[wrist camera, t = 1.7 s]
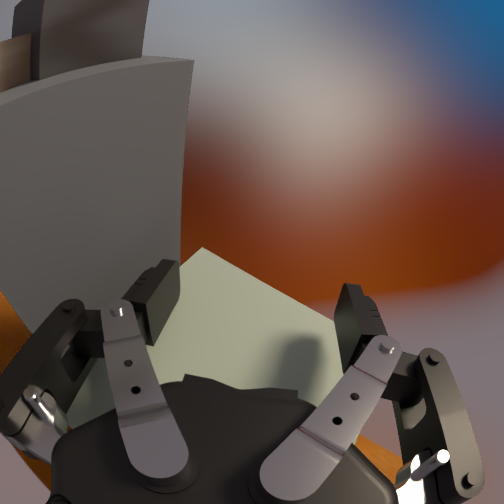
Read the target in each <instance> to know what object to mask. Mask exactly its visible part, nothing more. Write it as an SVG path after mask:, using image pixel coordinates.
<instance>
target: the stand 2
mask: <svg viewBox="0 0 504 504" xmlns="http://www.w3.org/2000/svg"><path fill="white" fill-rule="evenodd" d="M179 269H180V297H179V300H178V302H177V304H176V306H175V307H174V309H173V311H172V313H171V315H170V317H169V319H168V320H167V322H166V324H165V326H164V328H163V330H162V332H161V334H160V335H159V337H158V339H157V341H156V343H155V345H154V347H153V346H149V345H146V348H147V351H148V354H149V357H150V360H151V363H152V366H153V368H154V371H155V374H156V377H157V379H158V382H159V385H160V384H163V383H167V382H174V381H182V380H183V377H184V375H185V374H190V375H195V376H200V377H205V378H210V379H214V380H216V381H219V382H221V383H224V384H226V385H229V386H231V387H234V388H237V389H257V388H269V387H271V388H280V389H291V390H298V398H299V399H302V400H305V401H307V402H309V403H311V404H313V405H315V406H316V407H318V406H319V405H320V404H321V402H322V401H323V400H324V399H325V398H326V396H327V395H328V394H329V393H330V392H331V390H332V389H333V388H334V387H335V385H336V384H337V383H338V382H339V380H340V379H341V378H342V376H343V375H344V374H343V371H342V365H341V358H340V352H339V347H338V341H337V335H336V330H335V324H334V321H332V320H330V319H328V318H326V317H325V316H323V315H321V314H319V313H317V312H315V311H314V310H311V309H310V308H308V307H306V306H305V305H303V304H301V303H299V302H297V301H296V300H294V299H292V298H290V297H288V296H287V295H285V294H283V293H281V292H279V291H277V290H276V289H274V288H272V287H271V286H269V285H267V284H265V283H263V282H262V281H260V280H258V279H256V278H255V277H253V276H251V275H249V274H248V273H246V272H244V271H242V270H241V269H239V268H237V267H235V266H234V265H232V264H230V263H228V262H227V261H225V260H223V259H222V258H220V257H218V256H216V255H215V254H213V253H211V252H209V251H208V250H206V249H204V248H201V249H200V250H199V251H198V252H196V253H195V254H194V255H193V256H192V257H191V258H190V259H188V260H187V261H186V262H185V263H184V264H183V265H182V266H180V267H179ZM114 408H116V407H115V403H114V399H113V395H112V391H111V386H110V381H109V376H108V371H107V366H106V361H105V358H98V359H97V361H96V363H95V364H94V366H93V368H92V369H91V371H90V373H89V374H88V376H87V378H86V380H85V381H84V383H83V385H82V387H81V388H80V390H79V392H78V394H77V395H76V397H75V399H74V401H73V403H72V404H71V406H70V408H69V410H68V412H67V414H66V416H67V419H68V425H69V426H70V427H71V428H72V429H73V428H76V427H78V426H80V425H82V424H84V423H86V422H88V421H90V420H92V419H94V418H96V417H98V416H100V415H102V414H104V413H106V412H108V411H110V410H112V409H114ZM359 432H360V431H359ZM358 435H359V433H358V434H357V436H356V437H355V439H354V440H353V442H352V443H353V444H354V445H355V442H356V440H357V437H358Z"/></svg>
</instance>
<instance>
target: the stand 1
mask: <svg viewBox="0 0 504 504" xmlns="http://www.w3.org/2000/svg"><path fill="white" fill-rule="evenodd" d="M193 64H194V60H189V59H180V58H170V57H157V56H142V57H141V58H136V59H129V60H122V61H116V62H110V63H105V64H99V65H95V66H90V67H86V68H81V69H77V70H73V71H69V72H66V73H62V74H59V75H55V76H52V77H49V78H45V79H42V80H30V81H27V82H24V83H21V84H19V85H16V86H14V87H11V88H9V89H6V90H4V91H1V92H0V290H1V291H2V293H3V294H4V296H5V297H6V299H7V300H8V302H9V303H10V305H11V306H12V308H13V309H14V310H15V312H16V313H17V314H18V316H19V317H20V319H21V320H22V321H23V323H24V324H25V325H26V326H27V328H28V329H29V330H30V331H31V333H32V334H33V333H34V332H35V331H36V330H37V328H38V327H39V326H40V325H41V324H42V323H43V321H44V320H45V319H46V318H47V317H48V316H49V315H50V313H51V312H52V311H53V310H54V309H55V308H56V307H57V306H58V305H59V304H60V303H61V302H63V301H65V300H68V299H78V300H81V301H82V302H83V303H84V307H85V310H101V308H102V306H103V305H104V304H105V303H107V302H109V301H111V300H115V299H121V298H122V297H123V296H124V295H125V293H126V292H127V291H128V290H129V288H130V287H131V286H132V285H133V284H134V282H135V281H136V280H137V279H138V277H139V276H140V275H141V274H142V273H143V272H144V271H145V270H147V269H149V268H151V267H154V268H155V267H156V266H157V265H158V264H159V262H160V261H161V260H162V259H169V260H176V261H178V262H179V267H180V226H181V196H182V176H183V160H184V146H185V134H186V124H187V113H188V104H189V95H190V86H191V79H192V72H193ZM69 347H70V346H69V344H68V345H67V347H66V348H65V349H64V351H63V352H62V355H61V358H62V357H63V356H64V354H65V353H66V351H67V350H68V348H69Z"/></svg>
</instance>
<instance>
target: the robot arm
mask: <svg viewBox="0 0 504 504" xmlns="http://www.w3.org/2000/svg"><path fill="white" fill-rule="evenodd" d="M179 297H180V269H179V262H178V261H176V260H169V259H162V260H161V261H160V262H159V264H158V265H157V266H156V267H155V268H154V267H151V268H149V269H147V270H145V271H144V272H143V273H142V274H141V275H140V276H139V277H138V279H137V280H136V281H135V282H134V284H133V285H132V286H131V287H130V288H129V290H128V291H127V292H126V293H125V295H124V296H123V297H122V298H121V299H115V300H111V301H109V302H107V303H105V304H104V305H103V306H102V308H101V310H85V307H84V303H83V302H82V301H81V300H78V299H68V300H65V301H63V302H61V303H60V304H59V305H58V306H57V307H56V308H55V309H54V310H53V311H52V312H51V313H50V315H49V316H48V317H47V318H46V319H45V320H44V321H43V323H42V324H41V325H40V326H39V327H38V328H37V330H36V331H35V332H34V333H33V334H32V336H31V337H30V338H29V339H28V340H27V342H26V343H25V344H24V345H23V347H22V348H21V349H20V350H19V352H18V353H17V354H16V356H15V357H14V358H13V359H12V361H11V362H10V363H9V365H8V366H7V367H6V369H5V370H4V371H3V373H2V374H1V376H0V433H1V434H2V435H3V436H4V437H5V438H6V439H7V440H8V441H9V442H10V443H12V444H13V445H14V446H15V447H16V448H18V449H20V450H21V451H22V452H23V453H24V454H25V455H27V456H28V457H29V458H32V459H41V460H42V461H44V462H46V463H47V464H49V465H51V467H52V488H51V494H50V498H49V500H48V501H47V503H46V504H461V503H463V502H465V501H467V500H469V499H471V498H472V497H474V496H476V495H477V494H478V493H479V492H480V491H481V490H482V488H483V486H484V483H485V474H484V469H483V465H482V461H481V457H480V453H479V449H478V446H477V442H476V439H475V436H474V432H473V429H472V426H471V423H470V420H469V417H468V414H467V411H466V408H465V405H464V403H463V400H462V397H461V395H460V392H459V389H458V387H457V384H456V382H455V379H454V377H453V374H452V372H451V370H450V367H449V365H448V363H447V361H446V359H445V357H444V356H443V354H442V353H440V352H439V351H437V350H435V349H432V348H425V349H423V350H422V351H421V352H420V354H419V355H418V356H416V355H413V354H409V353H406V352H403V351H402V348H401V346H400V344H399V343H398V342H397V341H396V340H395V339H393V338H392V337H389V336H388V334H387V332H386V329H385V326H384V324H383V321H382V319H381V318H380V314H379V312H378V309H377V306H376V304H375V302H374V301H373V300H372V299H371V298H370V297H369V296H364V294H363V291H362V289H361V286H360V285H357V284H348V283H344V284H343V287H342V290H341V293H340V296H339V299H338V303H337V306H336V309H335V313H334V324H335V330H336V335H337V341H338V347H339V352H340V358H341V365H342V371H343V374H344V375H343V376H342V378H341V379H340V380H339V382H338V383H337V384H336V385H335V387H334V388H333V389H332V390H331V392H330V393H329V394H328V395H327V396H326V398H325V399H324V400H323V401H322V402H321V404H320V405H319V406H318V407H316V406H315V405H313V404H311V403H309V402H307V401H305V400H302V399H299V398H298V390H291V389H280V388H271V387H269V388H257V389H237V388H234V387H231V386H229V385H226V384H224V383H221V382H219V381H216V380H214V379H210V378H205V377H200V376H195V375H190V374H185V375H184V377H183V380H182V381H174V382H167V383H163V384H160V385H159V382H158V379H157V377H156V374H155V371H154V368H153V366H152V363H151V360H150V357H149V354H148V351H147V348H146V345H149V346H153V347H154V345H155V343H156V341H157V339H158V337H159V335H160V334H161V332H162V330H163V328H164V326H165V324H166V322H167V320H168V319H169V317H170V315H171V313H172V311H173V309H174V307H175V306H176V304H177V302H178V300H179ZM68 344H69V346H70V347H69V348H68V350H67V351H66V353H65V354H64V356H63V357H62V358H61V355H62V352H63V351H64V349H65V348H66V347H67V345H68ZM98 358H105V361H106V366H107V371H108V376H109V381H110V386H111V391H112V395H113V399H114V403H115V407H116V408H114V409H112V410H110V411H108V412H106V413H104V414H102V415H100V416H98V417H96V418H94V419H92V420H90V421H88V422H86V423H84V424H82V425H80V426H78V427H76V428H73V429H71V430H69V431H68V432H67V428H68V419H67V416H66V414H67V412H68V410H69V408H70V406H71V404H72V403H73V401H74V399H75V397H76V395H77V394H78V392H79V390H80V388H81V387H82V385H83V383H84V381H85V380H86V378H87V376H88V374H89V373H90V371H91V369H92V368H93V366H94V364H95V363H96V361H97V359H98ZM379 398H384V399H388V400H392V403H393V408H394V413H395V418H396V424H397V429H398V435H399V441H400V446H401V454H402V460H403V466H402V467H401V468H400V469H399V471H398V472H397V475H396V483H395V487H394V485H393V484H392V483H391V481H390V480H389V479H388V478H387V477H386V476H385V475H383V474H382V473H381V472H380V471H379V470H378V469H377V468H376V467H375V466H374V465H373V464H372V463H371V462H370V461H369V460H368V459H367V458H366V457H365V455H364V454H363V453H362V452H361V451H360V450H359V449H358V448H357V447H356V446H355V445H354V444H353V443H352V442H353V440H354V439H355V437H356V436H357V434H358V433H359V431H360V430H361V428H362V427H363V425H364V424H365V422H366V420H367V419H368V417H369V416H370V414H371V412H372V410H373V409H374V407H375V405H376V404H377V402H378V400H379ZM423 398H424V400H425V403H424V400H423ZM425 404H426V406H425Z"/></svg>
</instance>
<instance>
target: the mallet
mask: <svg viewBox="0 0 504 504" xmlns="http://www.w3.org/2000/svg"><path fill="white" fill-rule="evenodd" d="M148 5H149V0H22V1H21V2H20V3H18V4H17V5H16V6H15V10H14V17H13V27H12V38H11V39H8V40H6V41H2V42H0V92H1V91H4V90H6V89H9V88H11V87H14V86H16V85H19V84H21V83H24V82H27V81H30V80H42V79H45V78H49V77H52V76H55V75H59V74H62V73H66V72H69V71H73V70H77V69H81V68H86V67H90V66H95V65H99V64H105V63H110V62H116V61H122V60H129V59H136V58H141V57H142V46H143V38H144V30H145V24H146V17H147V11H148Z"/></svg>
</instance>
